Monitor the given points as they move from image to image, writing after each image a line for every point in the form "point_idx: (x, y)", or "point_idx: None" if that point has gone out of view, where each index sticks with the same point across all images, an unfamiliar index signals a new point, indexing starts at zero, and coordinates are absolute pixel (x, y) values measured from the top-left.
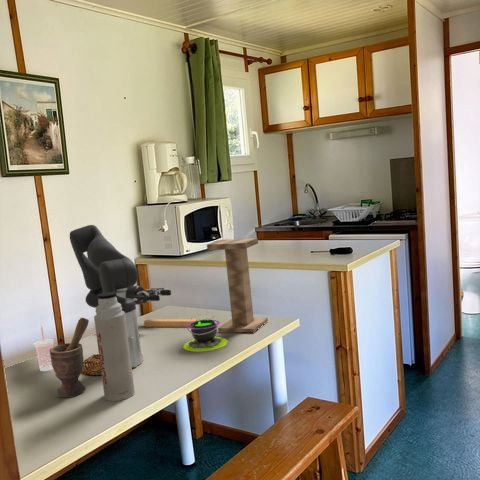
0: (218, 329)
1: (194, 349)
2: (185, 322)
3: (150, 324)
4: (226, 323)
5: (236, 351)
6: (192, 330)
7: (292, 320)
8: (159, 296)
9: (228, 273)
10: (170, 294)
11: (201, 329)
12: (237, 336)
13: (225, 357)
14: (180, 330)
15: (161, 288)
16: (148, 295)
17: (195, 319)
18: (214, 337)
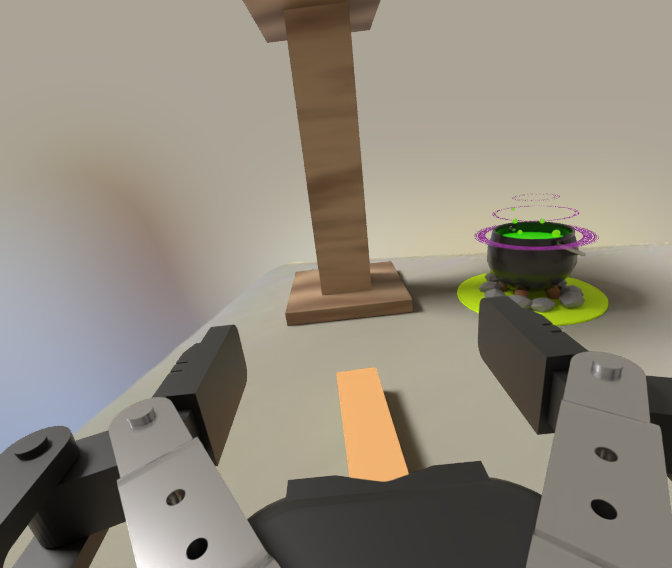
0: (412, 303)
1: (586, 290)
2: (386, 404)
3: None
4: (358, 302)
5: None
6: (577, 247)
7: (287, 265)
8: (479, 310)
9: (356, 114)
10: (242, 367)
11: (560, 233)
12: (427, 279)
13: None
14: (455, 416)
15: (24, 463)
16: (618, 357)
17: (341, 377)
18: (489, 281)
